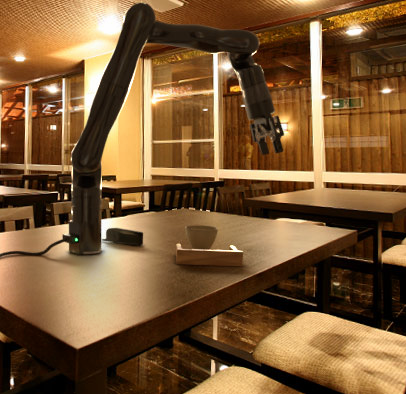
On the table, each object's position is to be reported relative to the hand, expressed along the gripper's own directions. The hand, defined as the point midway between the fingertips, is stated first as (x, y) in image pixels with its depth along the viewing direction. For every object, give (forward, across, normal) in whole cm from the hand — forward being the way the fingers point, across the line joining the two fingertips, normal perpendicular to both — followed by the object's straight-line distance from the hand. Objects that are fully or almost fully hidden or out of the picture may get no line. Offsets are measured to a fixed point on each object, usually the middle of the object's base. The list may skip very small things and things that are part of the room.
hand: (272, 153), depth 119 cm
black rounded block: (+16, -17, -50) cm, 55 cm away
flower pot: (+23, -6, -27) cm, 36 cm away
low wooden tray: (+23, +7, -30) cm, 38 cm away
